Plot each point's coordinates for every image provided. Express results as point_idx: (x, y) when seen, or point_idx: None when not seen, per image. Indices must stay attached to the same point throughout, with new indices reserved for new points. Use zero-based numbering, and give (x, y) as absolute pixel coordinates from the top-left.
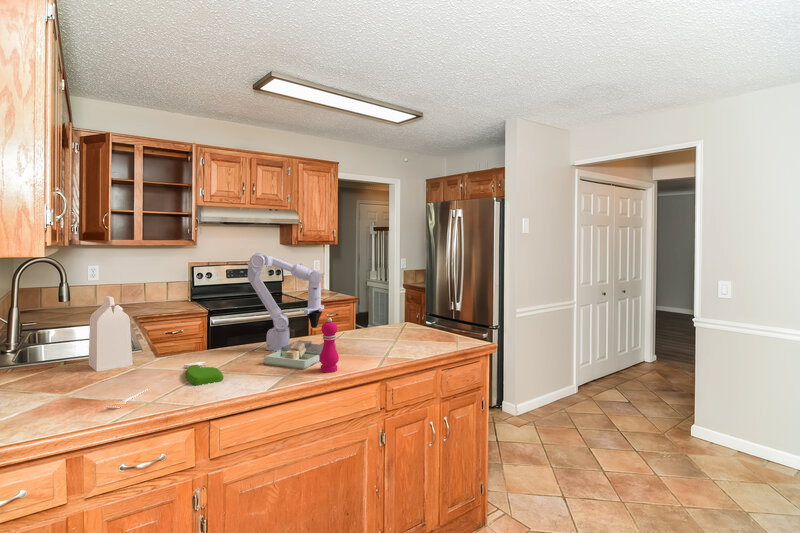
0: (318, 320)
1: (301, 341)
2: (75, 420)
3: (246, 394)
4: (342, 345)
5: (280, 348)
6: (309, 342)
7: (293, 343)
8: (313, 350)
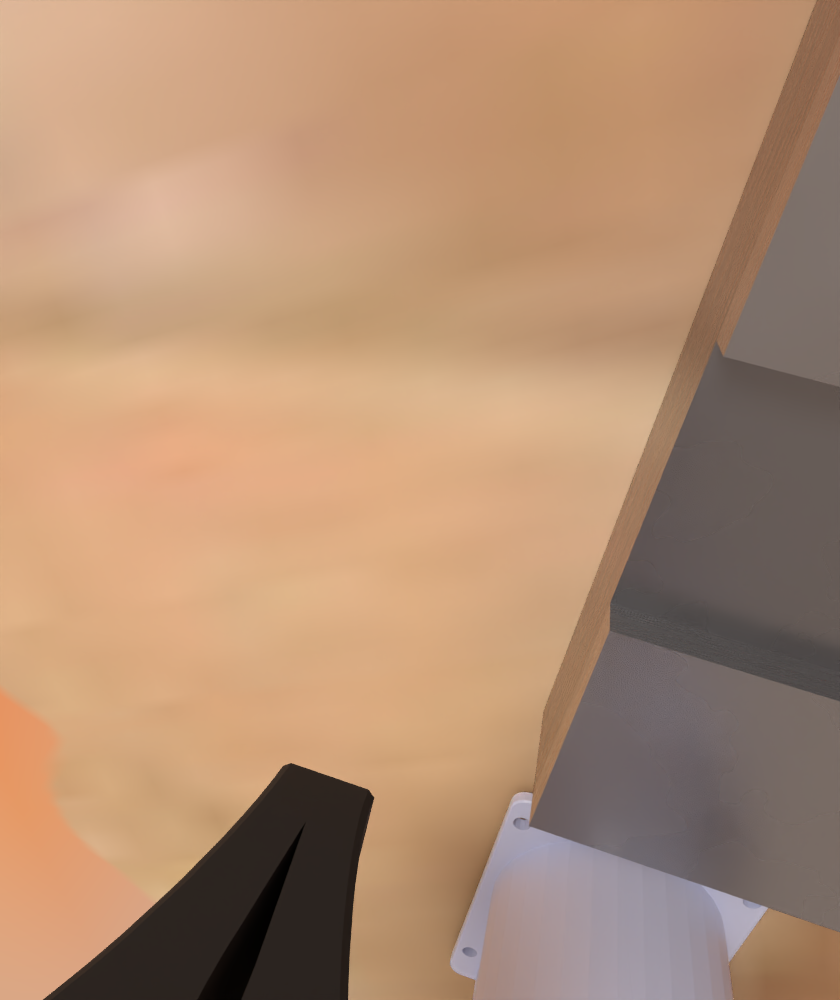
0: (148, 934)
1: (635, 792)
2: None
3: None
4: (110, 20)
5: (725, 943)
6: (699, 656)
7: (822, 894)
8: None
